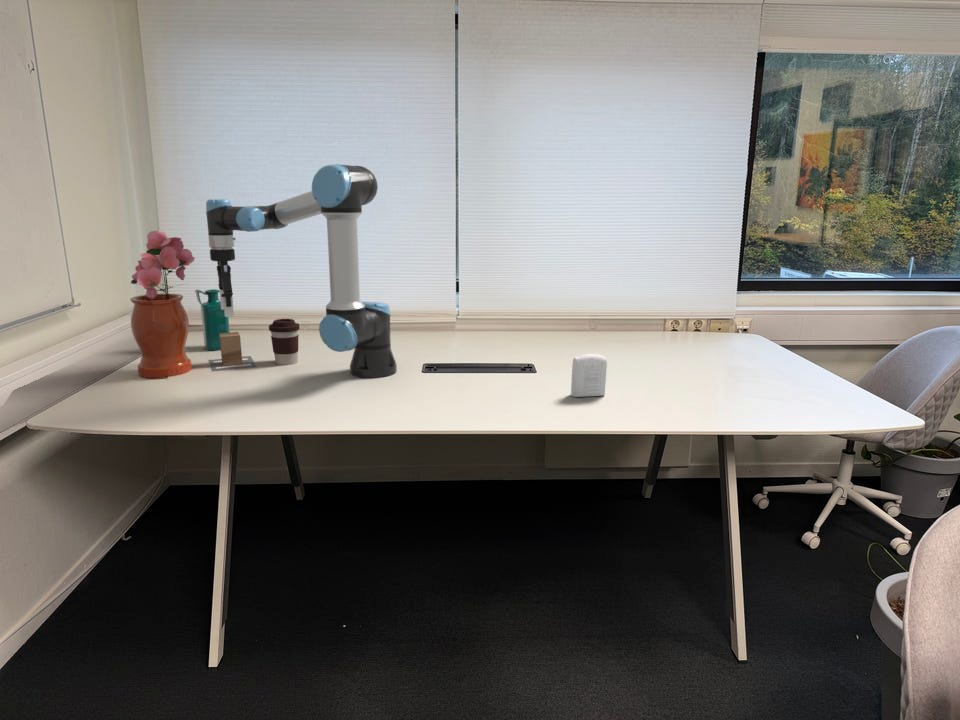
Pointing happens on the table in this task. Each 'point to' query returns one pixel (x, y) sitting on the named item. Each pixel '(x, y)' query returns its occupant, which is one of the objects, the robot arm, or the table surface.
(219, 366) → the letter mat
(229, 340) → the walnut block
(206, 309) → the pitcher
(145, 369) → the potted flower
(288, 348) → the coffee cup
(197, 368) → the table surface
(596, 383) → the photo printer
